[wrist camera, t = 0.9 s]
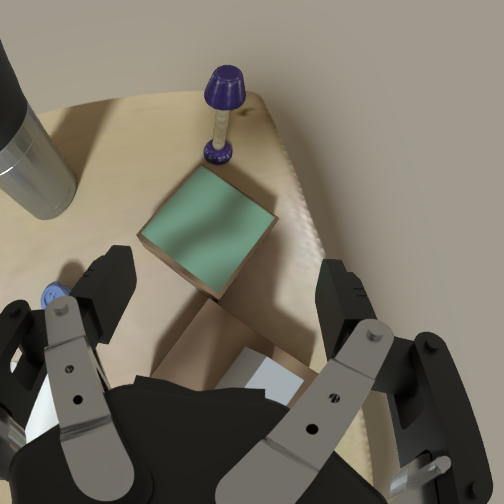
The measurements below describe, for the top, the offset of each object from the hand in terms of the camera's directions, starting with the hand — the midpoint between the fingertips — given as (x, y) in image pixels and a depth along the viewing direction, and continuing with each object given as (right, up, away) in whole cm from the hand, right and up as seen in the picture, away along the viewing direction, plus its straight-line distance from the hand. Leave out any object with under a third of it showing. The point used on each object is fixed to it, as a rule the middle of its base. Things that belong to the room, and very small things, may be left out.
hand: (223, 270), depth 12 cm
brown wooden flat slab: (-2, -15, +22) cm, 27 cm away
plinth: (-5, +3, +26) cm, 27 cm away
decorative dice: (-24, -6, +21) cm, 32 cm away
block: (-1, -14, +18) cm, 22 cm away
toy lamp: (-4, +15, +30) cm, 34 cm away
